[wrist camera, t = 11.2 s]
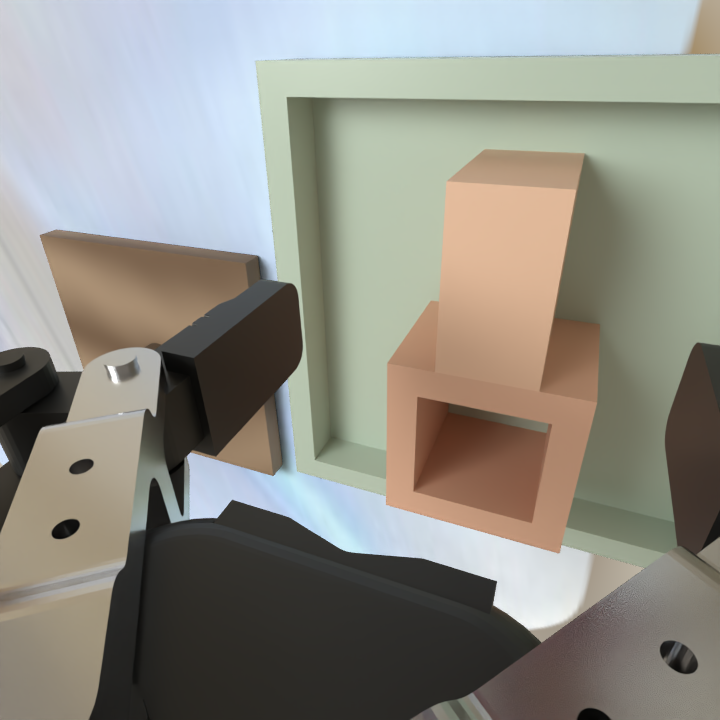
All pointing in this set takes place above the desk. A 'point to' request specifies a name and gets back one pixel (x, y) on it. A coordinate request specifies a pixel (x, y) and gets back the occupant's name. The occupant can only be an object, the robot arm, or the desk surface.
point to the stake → (154, 309)
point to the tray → (425, 239)
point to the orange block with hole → (496, 359)
